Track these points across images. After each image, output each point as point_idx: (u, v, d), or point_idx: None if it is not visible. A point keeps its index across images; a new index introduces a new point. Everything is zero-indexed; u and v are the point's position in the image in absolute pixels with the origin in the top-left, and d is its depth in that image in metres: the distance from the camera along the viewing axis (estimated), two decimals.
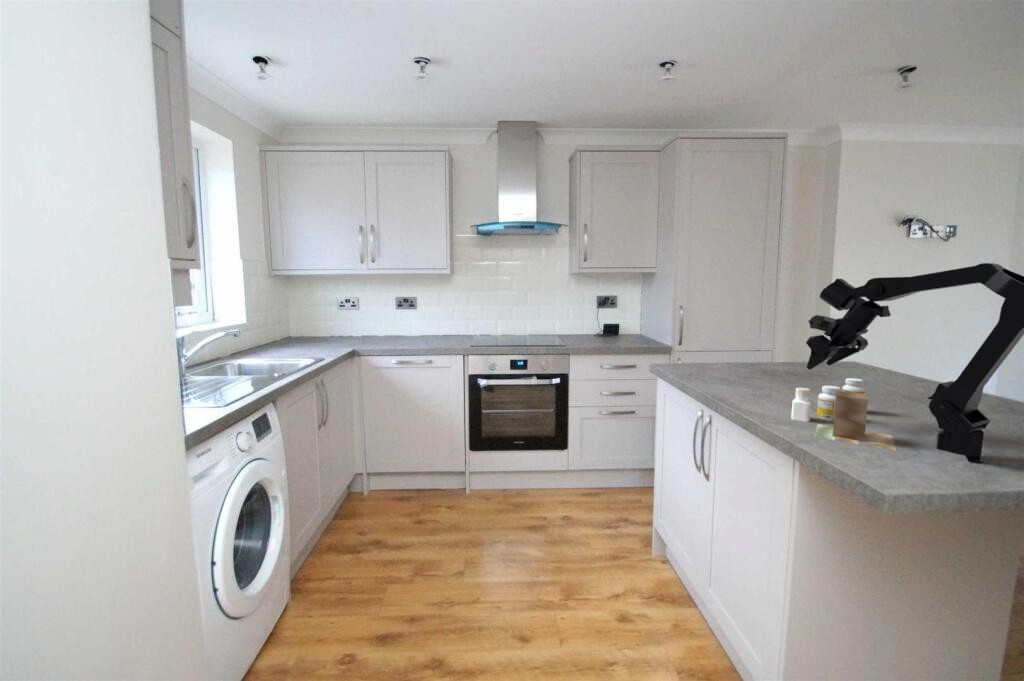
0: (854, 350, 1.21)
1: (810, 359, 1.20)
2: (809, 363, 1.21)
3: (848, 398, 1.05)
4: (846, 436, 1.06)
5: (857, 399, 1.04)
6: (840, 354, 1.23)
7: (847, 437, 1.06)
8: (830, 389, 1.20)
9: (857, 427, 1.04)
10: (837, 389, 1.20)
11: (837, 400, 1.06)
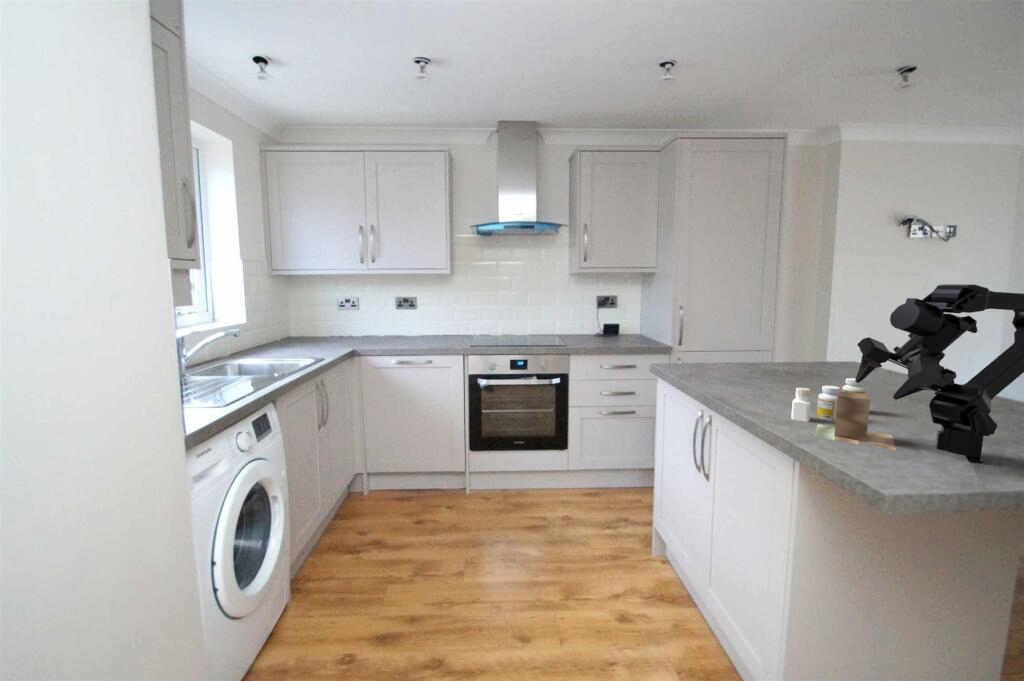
0: None
1: None
2: None
3: (850, 398, 1.05)
4: (848, 436, 1.06)
5: (859, 399, 1.04)
6: None
7: (849, 437, 1.06)
8: (830, 389, 1.20)
9: (859, 427, 1.04)
10: (837, 389, 1.20)
11: (839, 400, 1.06)
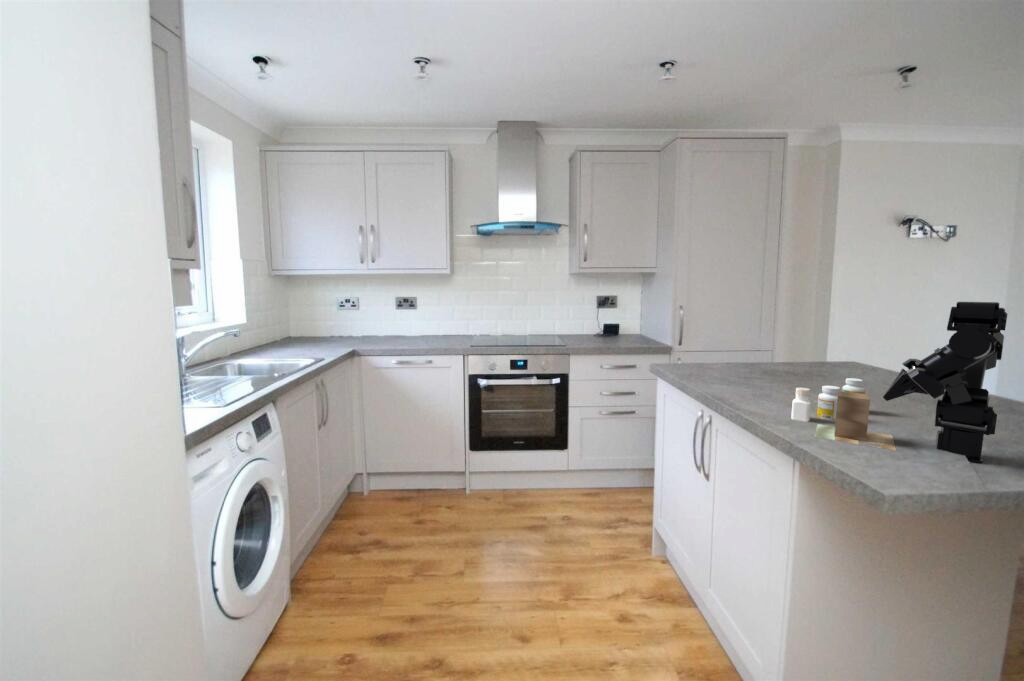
0: (906, 373, 0.99)
1: None
2: None
3: (850, 398, 1.05)
4: (848, 436, 1.06)
5: (859, 399, 1.04)
6: None
7: (849, 437, 1.06)
8: (830, 389, 1.20)
9: (859, 427, 1.04)
10: (837, 389, 1.20)
11: (839, 400, 1.06)
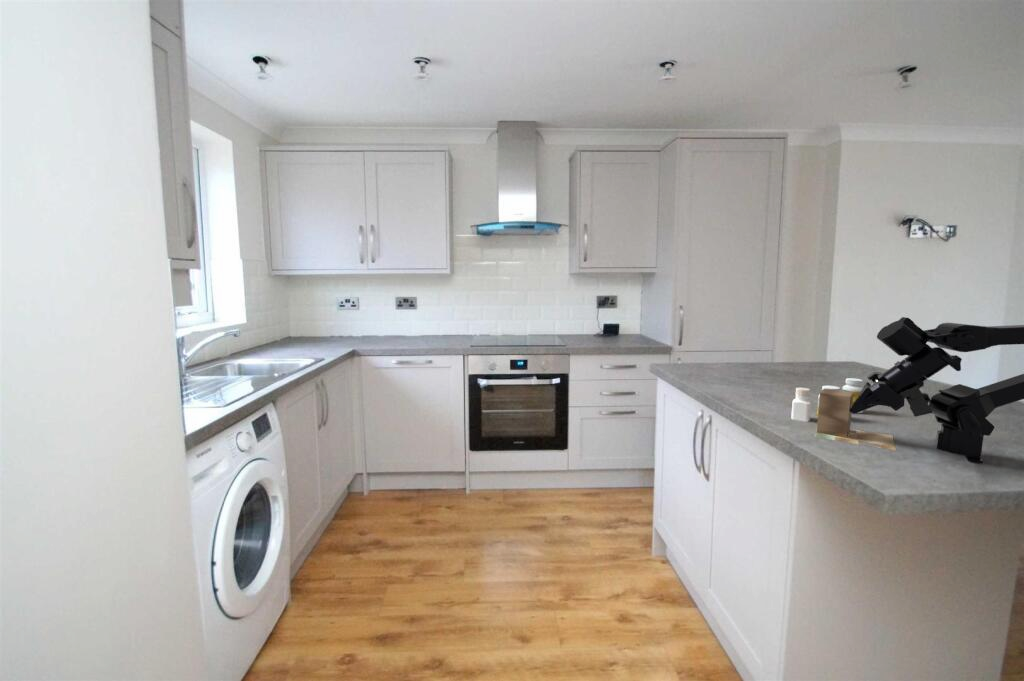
0: (870, 386, 1.03)
1: None
2: None
3: (831, 395, 1.08)
4: (829, 432, 1.09)
5: (840, 396, 1.06)
6: None
7: (830, 433, 1.08)
8: None
9: (840, 424, 1.07)
10: (837, 389, 1.20)
11: (821, 397, 1.09)
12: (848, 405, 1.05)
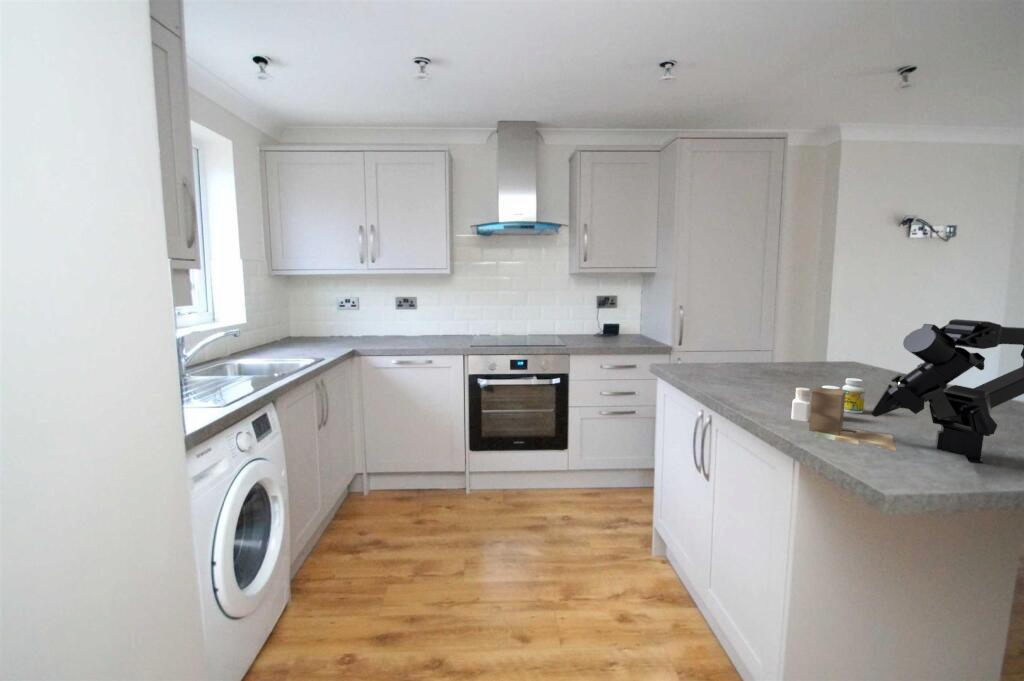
0: None
1: None
2: None
3: (823, 394, 1.09)
4: (821, 430, 1.10)
5: (831, 395, 1.08)
6: None
7: (822, 431, 1.10)
8: None
9: (832, 422, 1.09)
10: (837, 389, 1.20)
11: (813, 395, 1.11)
12: (839, 403, 1.07)
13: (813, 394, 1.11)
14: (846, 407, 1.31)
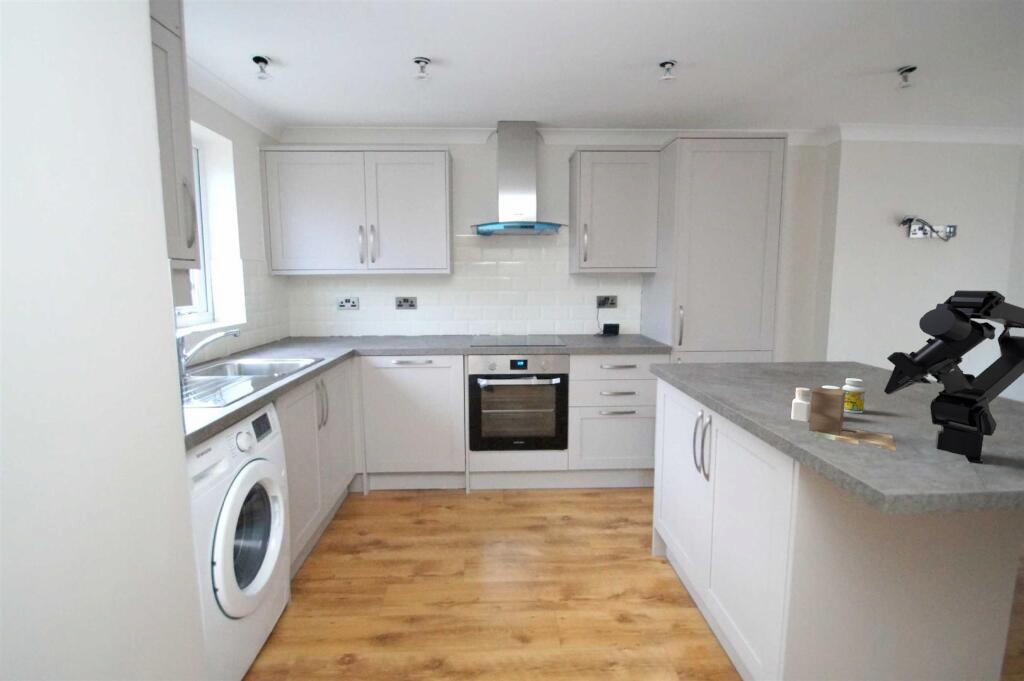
0: None
1: None
2: None
3: (823, 394, 1.09)
4: (821, 430, 1.10)
5: (831, 395, 1.08)
6: None
7: (822, 431, 1.10)
8: None
9: (832, 422, 1.09)
10: (837, 389, 1.20)
11: (813, 395, 1.11)
12: (839, 403, 1.07)
13: (813, 394, 1.11)
14: (846, 407, 1.31)
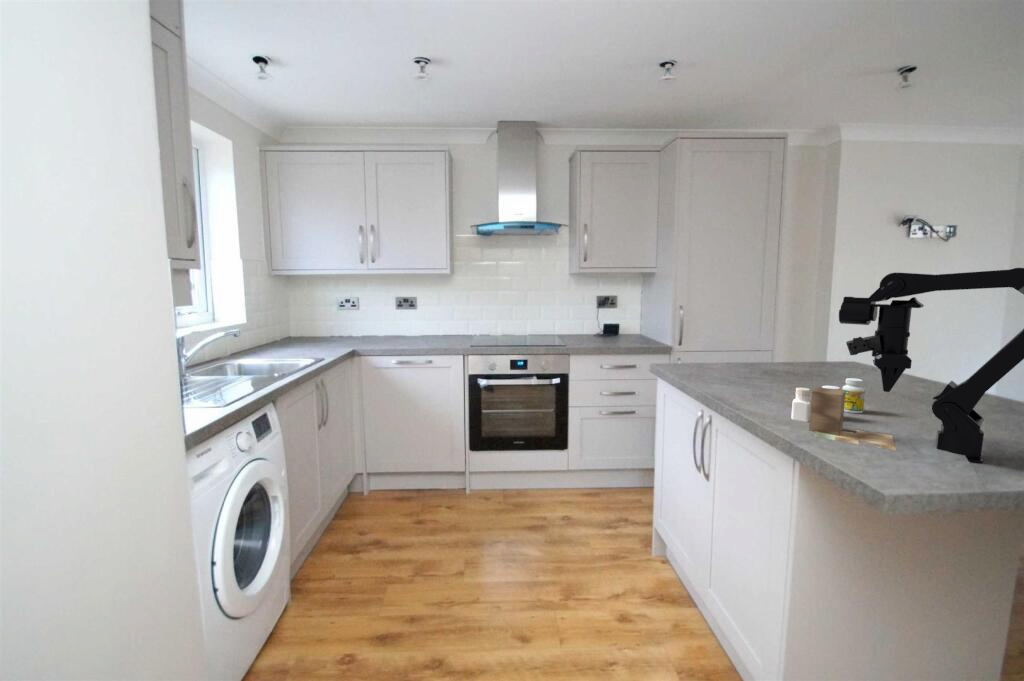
0: None
1: (883, 381, 1.06)
2: (885, 385, 1.06)
3: (823, 394, 1.09)
4: (821, 430, 1.10)
5: (831, 395, 1.08)
6: None
7: (822, 431, 1.10)
8: None
9: (832, 422, 1.09)
10: (837, 389, 1.20)
11: (813, 395, 1.11)
12: (839, 403, 1.07)
13: (813, 394, 1.11)
14: (846, 407, 1.31)
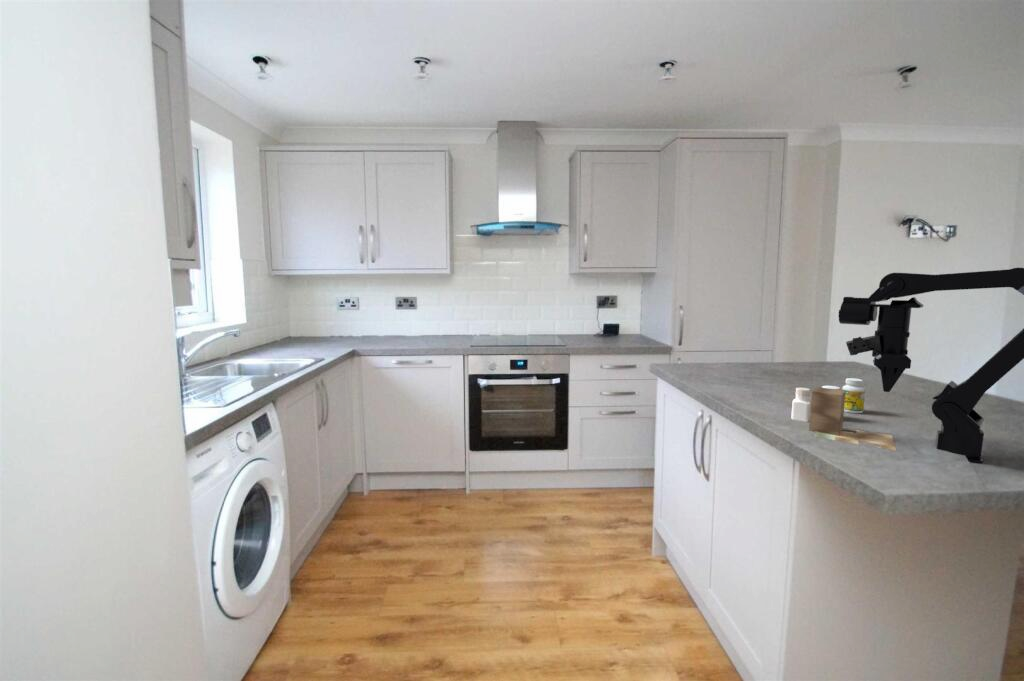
0: None
1: (883, 381, 1.06)
2: (885, 385, 1.06)
3: (823, 394, 1.09)
4: (821, 430, 1.10)
5: (831, 395, 1.08)
6: None
7: (822, 431, 1.10)
8: None
9: (832, 422, 1.09)
10: (837, 389, 1.20)
11: (813, 395, 1.11)
12: (839, 403, 1.07)
13: (813, 394, 1.11)
14: (846, 407, 1.31)
